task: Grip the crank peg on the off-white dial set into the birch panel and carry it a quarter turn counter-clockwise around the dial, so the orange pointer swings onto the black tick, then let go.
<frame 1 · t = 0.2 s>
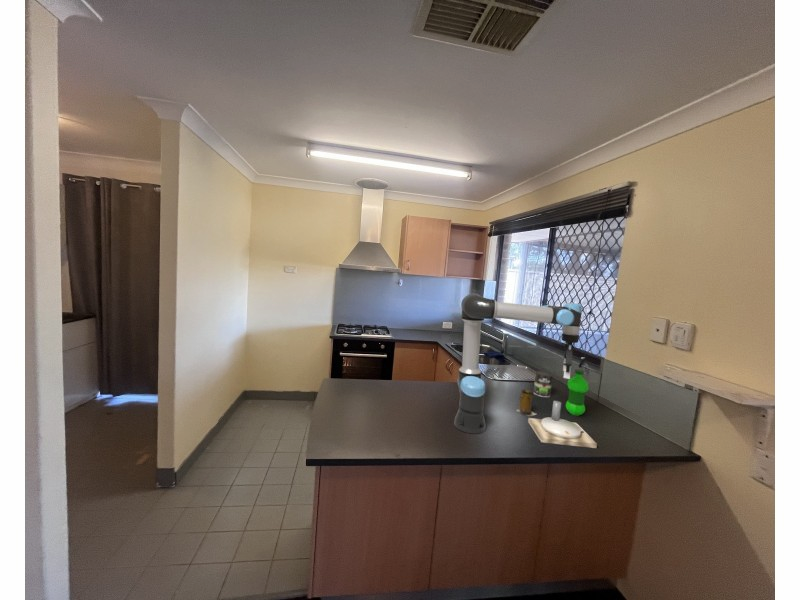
hand: (566, 374, 160), 27 cm above the countertop, fingers open, 13 cm apart
condiment: (526, 412, 174), on the countertop
dial: (561, 418, 151), point 8 cm above the countertop, hinge at 0.0°
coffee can: (541, 394, 203), on the countertop
dial panel: (559, 433, 152), on the countertop
plastic bottle: (574, 413, 176), on the countertop
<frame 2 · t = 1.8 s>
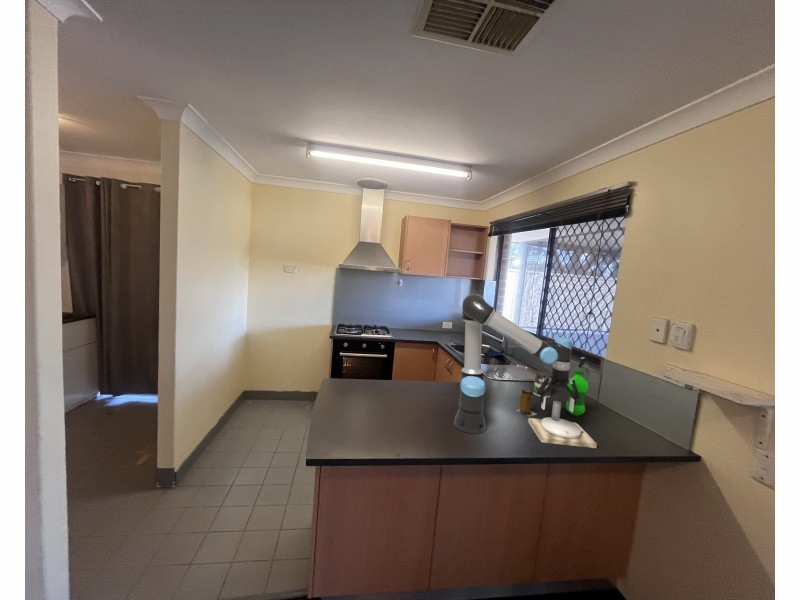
hand: (556, 409, 157), 9 cm above the countertop, fingers open, 13 cm apart
nothing on the countertop moved.
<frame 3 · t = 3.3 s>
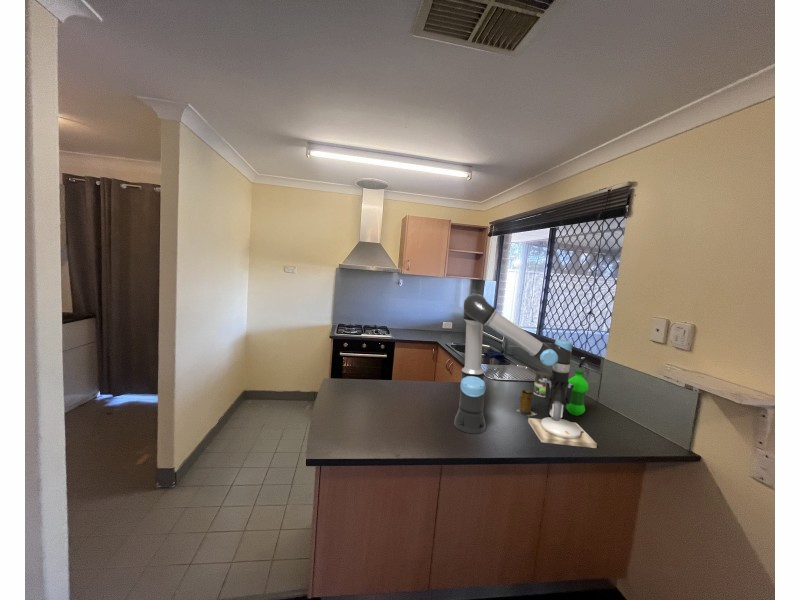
hand: (555, 415, 157), 6 cm above the countertop, fingers closed on dial, 4 cm apart
dial: (561, 418, 151), point 8 cm above the countertop, hinge at 0.0°, touching gripper
everything else where it was.
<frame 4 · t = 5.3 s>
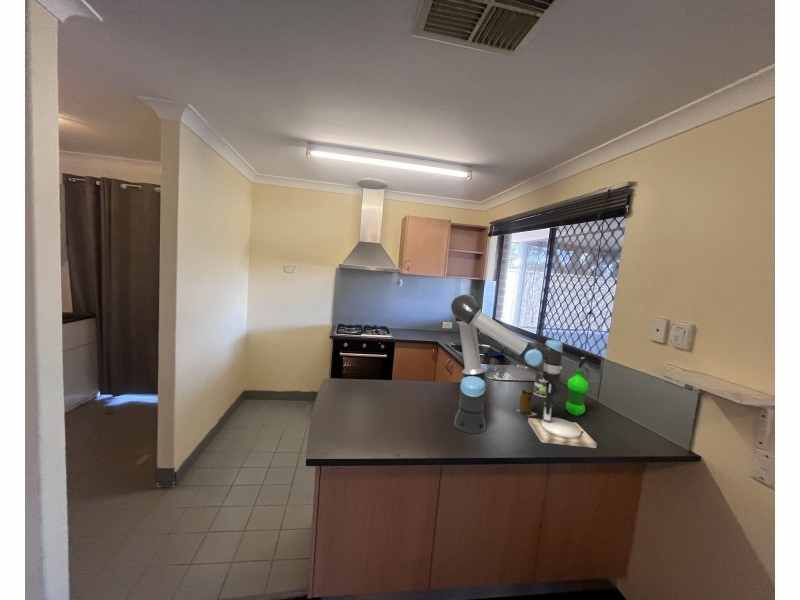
hand: (547, 417, 155), 6 cm above the countertop, fingers open, 4 cm apart
dial: (561, 418, 151), point 8 cm above the countertop, hinge at 55.3°, touching gripper
everything else where it was.
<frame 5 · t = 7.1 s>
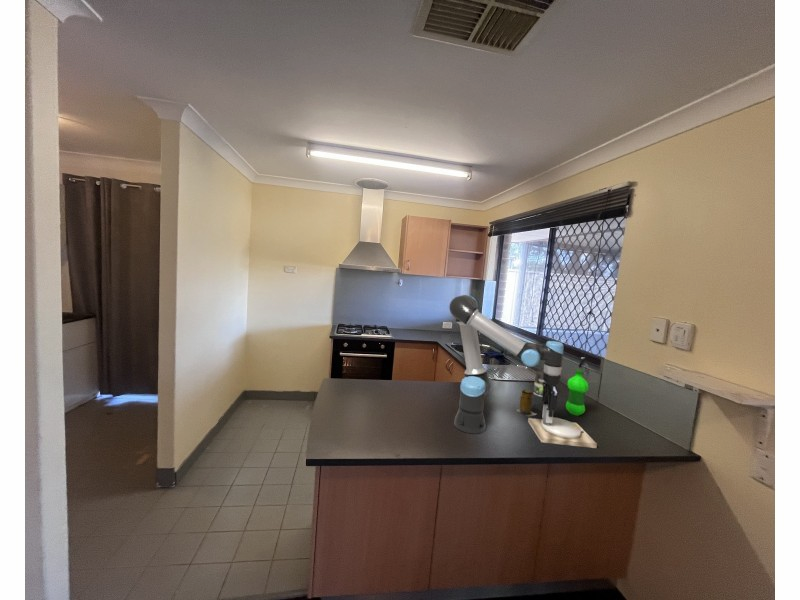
hand: (547, 420, 152), 6 cm above the countertop, fingers open, 4 cm apart
dial: (561, 418, 151), point 8 cm above the countertop, hinge at 86.4°, touching gripper
everything else where it was.
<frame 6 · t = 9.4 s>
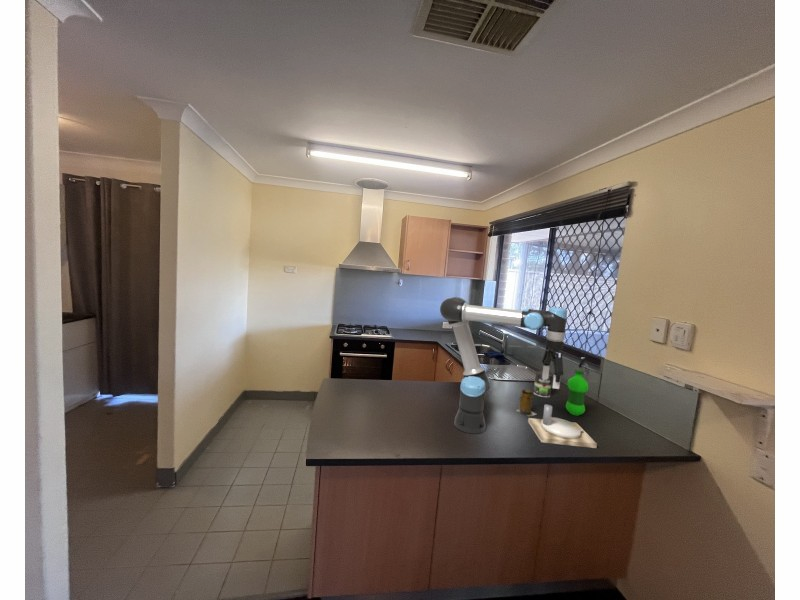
hand: (550, 383, 150), 25 cm above the countertop, fingers open, 13 cm apart
dial: (561, 418, 151), point 8 cm above the countertop, hinge at 86.4°
everything else where it was.
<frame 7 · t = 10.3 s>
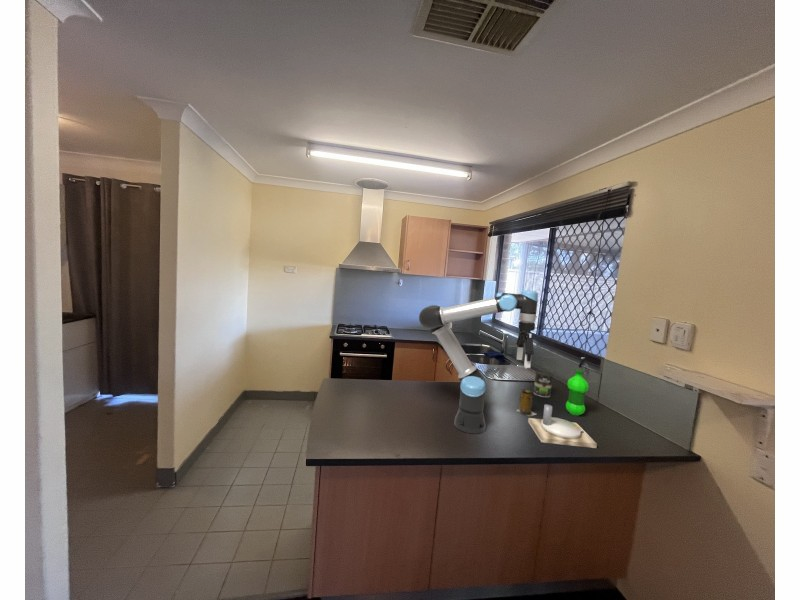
hand: (523, 363, 157), 32 cm above the countertop, fingers open, 13 cm apart
nothing on the countertop moved.
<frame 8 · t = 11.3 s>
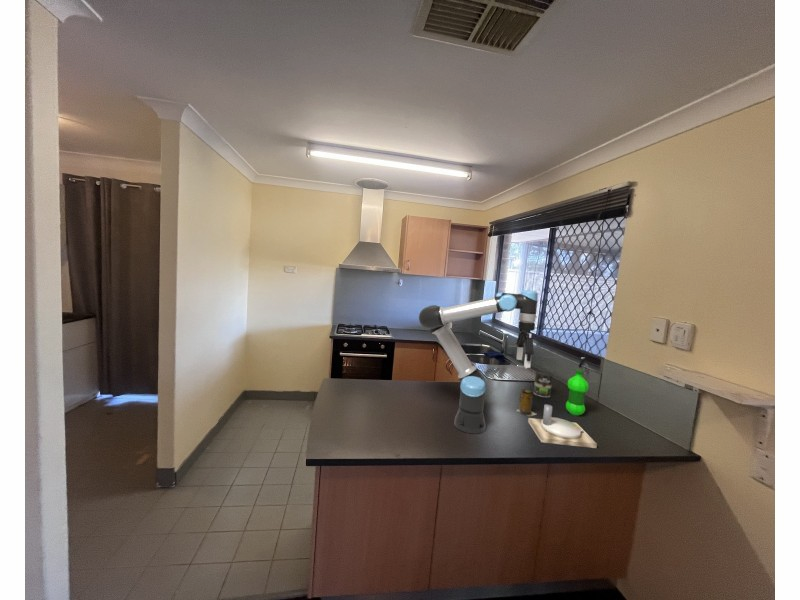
hand: (522, 363, 157), 32 cm above the countertop, fingers open, 13 cm apart
nothing on the countertop moved.
at the end: dial at +86° (first picture: +0°); the gripper is holding nothing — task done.
